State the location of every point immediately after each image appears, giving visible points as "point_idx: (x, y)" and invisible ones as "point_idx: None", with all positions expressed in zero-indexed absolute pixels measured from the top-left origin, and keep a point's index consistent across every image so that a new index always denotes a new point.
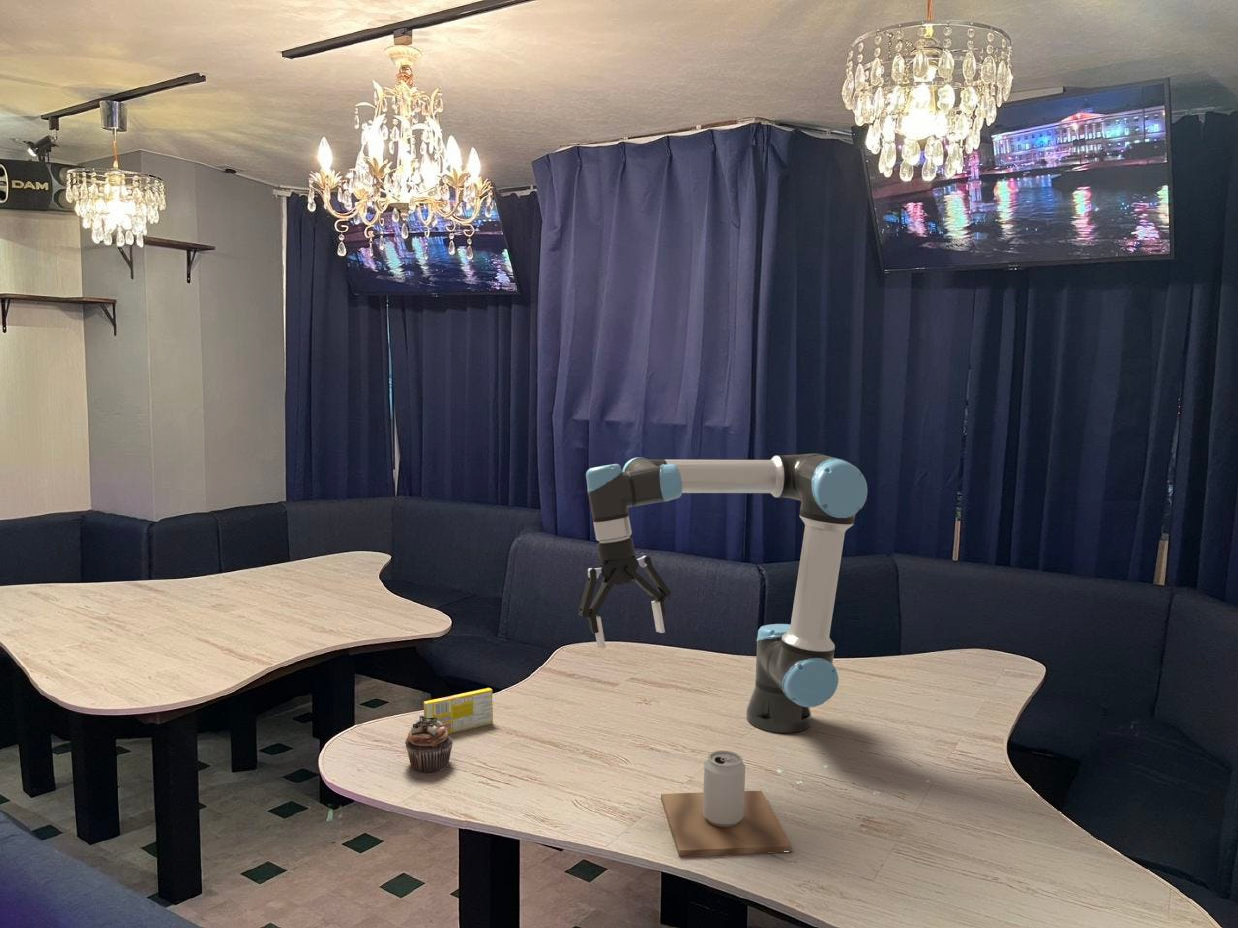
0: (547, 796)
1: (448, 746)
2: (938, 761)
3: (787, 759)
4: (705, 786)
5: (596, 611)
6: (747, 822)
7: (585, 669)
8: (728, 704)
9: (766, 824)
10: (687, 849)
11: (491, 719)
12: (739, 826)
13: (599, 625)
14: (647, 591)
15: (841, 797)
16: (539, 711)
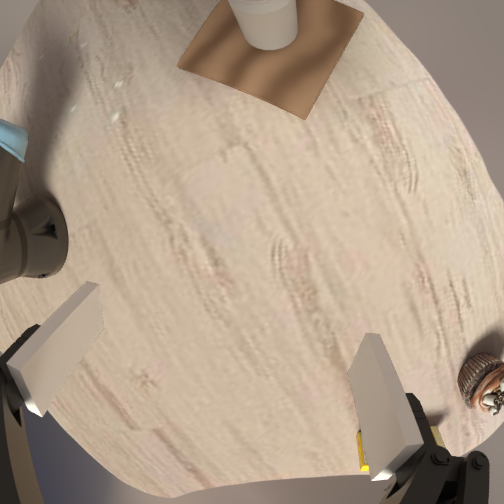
0: (434, 222)
1: (483, 367)
2: (13, 88)
3: (89, 139)
4: (295, 12)
5: (426, 474)
6: None
7: (171, 469)
8: None
9: None
10: (354, 9)
11: (361, 436)
12: None
13: (405, 409)
14: (22, 456)
15: (113, 42)
16: (286, 433)
